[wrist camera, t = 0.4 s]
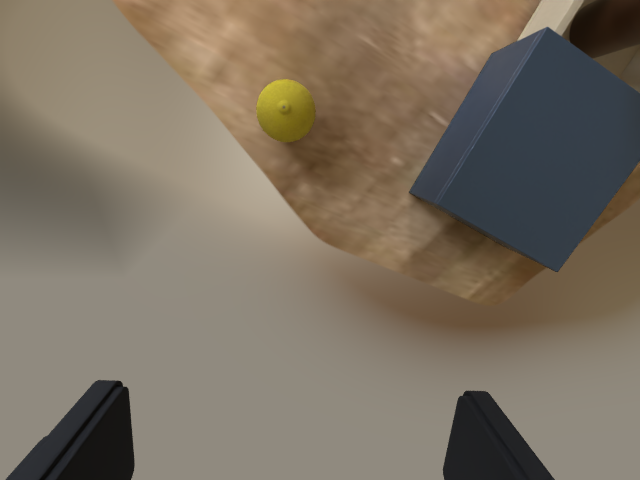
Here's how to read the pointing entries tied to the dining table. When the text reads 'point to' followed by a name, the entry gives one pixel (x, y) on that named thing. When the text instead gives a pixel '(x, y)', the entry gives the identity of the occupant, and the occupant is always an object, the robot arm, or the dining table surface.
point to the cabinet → (536, 148)
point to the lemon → (285, 110)
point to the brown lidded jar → (606, 27)
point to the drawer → (558, 14)
